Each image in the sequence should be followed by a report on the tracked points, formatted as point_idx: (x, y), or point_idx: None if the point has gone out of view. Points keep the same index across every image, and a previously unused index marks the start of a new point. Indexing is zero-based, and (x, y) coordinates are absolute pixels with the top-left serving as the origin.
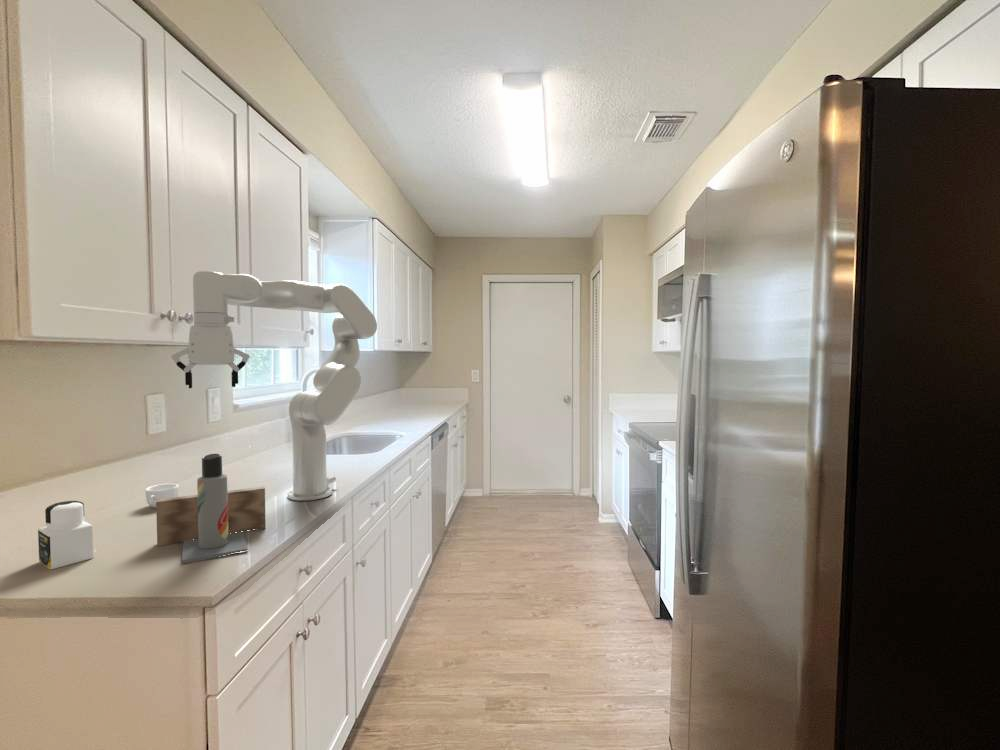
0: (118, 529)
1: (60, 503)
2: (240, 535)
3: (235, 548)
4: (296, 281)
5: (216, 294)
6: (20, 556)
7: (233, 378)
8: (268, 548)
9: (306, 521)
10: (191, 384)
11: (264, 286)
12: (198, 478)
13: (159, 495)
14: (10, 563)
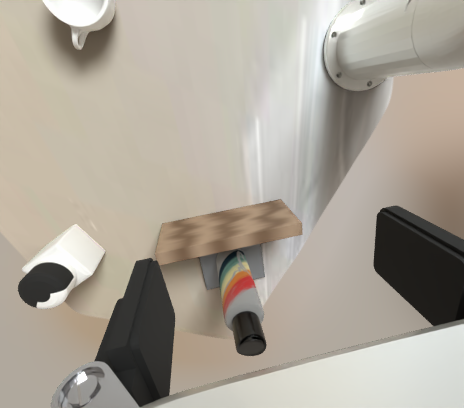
0: (77, 145)
1: (33, 294)
2: None
3: (253, 274)
4: None
5: None
6: (4, 221)
7: (417, 304)
8: (282, 269)
9: (330, 196)
10: (171, 332)
11: None
12: (226, 323)
13: (86, 29)
14: (10, 241)
